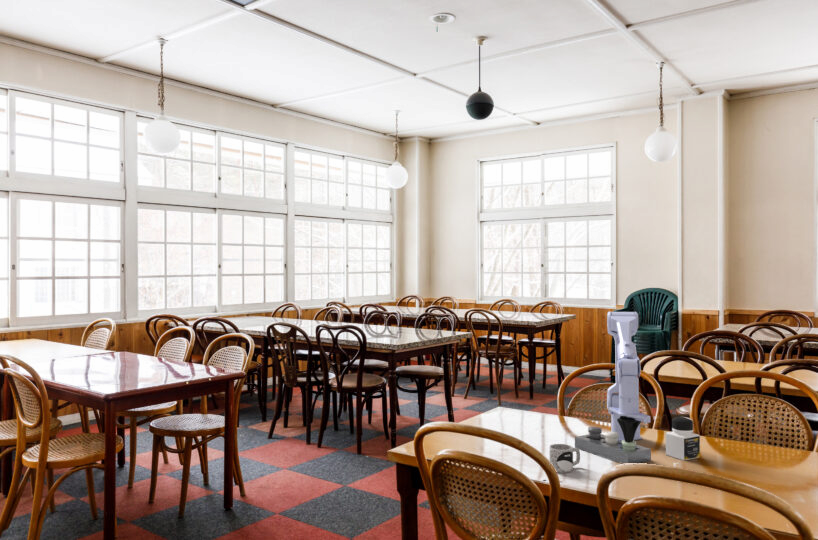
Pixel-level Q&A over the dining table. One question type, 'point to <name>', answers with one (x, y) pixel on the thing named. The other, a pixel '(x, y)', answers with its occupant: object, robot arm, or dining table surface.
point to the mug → (563, 457)
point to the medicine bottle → (682, 440)
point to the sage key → (629, 445)
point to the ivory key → (611, 438)
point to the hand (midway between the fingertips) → (629, 441)
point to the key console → (612, 450)
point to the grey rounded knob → (595, 433)
